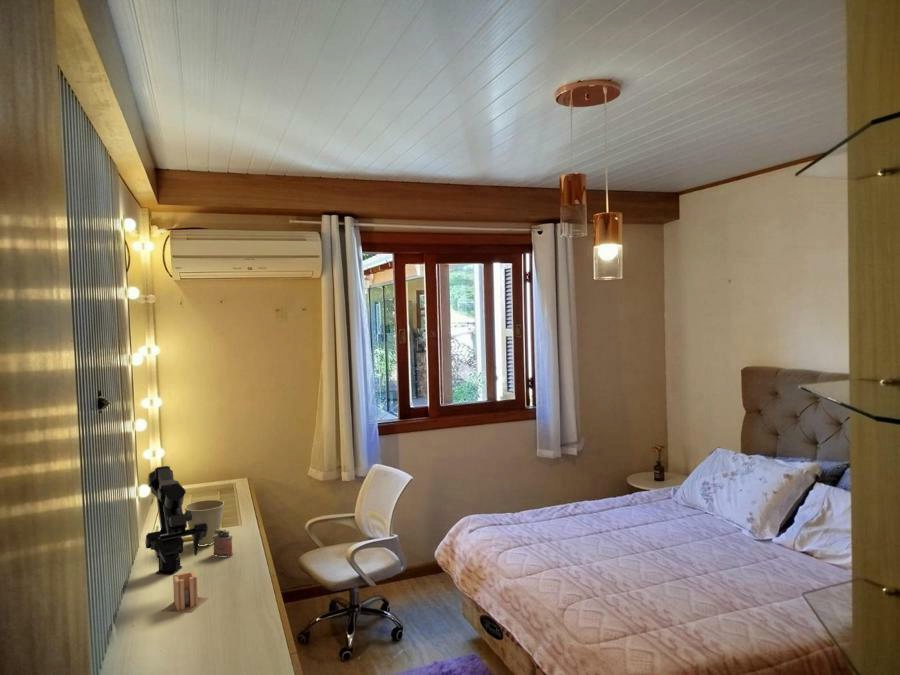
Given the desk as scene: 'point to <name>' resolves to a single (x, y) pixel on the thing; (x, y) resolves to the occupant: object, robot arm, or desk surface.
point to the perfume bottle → (222, 543)
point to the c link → (185, 582)
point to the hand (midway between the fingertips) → (180, 558)
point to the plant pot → (206, 517)
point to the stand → (186, 603)
